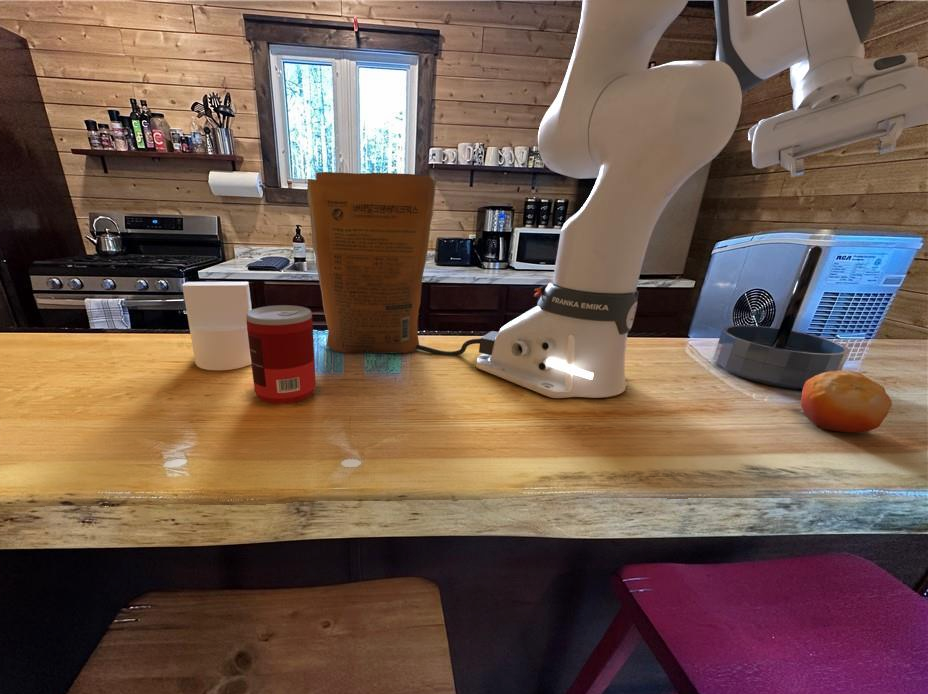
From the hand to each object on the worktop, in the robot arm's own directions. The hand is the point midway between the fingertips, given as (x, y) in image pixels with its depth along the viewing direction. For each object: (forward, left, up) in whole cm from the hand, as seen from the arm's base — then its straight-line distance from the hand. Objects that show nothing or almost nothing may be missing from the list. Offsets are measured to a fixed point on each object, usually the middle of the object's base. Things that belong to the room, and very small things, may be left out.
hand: (840, 161), depth 63 cm
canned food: (-49, -63, -32) cm, 86 cm away
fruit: (+8, -22, -32) cm, 40 cm away
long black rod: (+1, -3, -31) cm, 31 cm away
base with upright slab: (-66, -62, -32) cm, 96 cm away
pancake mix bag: (-54, -42, -32) cm, 75 cm away
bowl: (+1, -3, -32) cm, 32 cm away
